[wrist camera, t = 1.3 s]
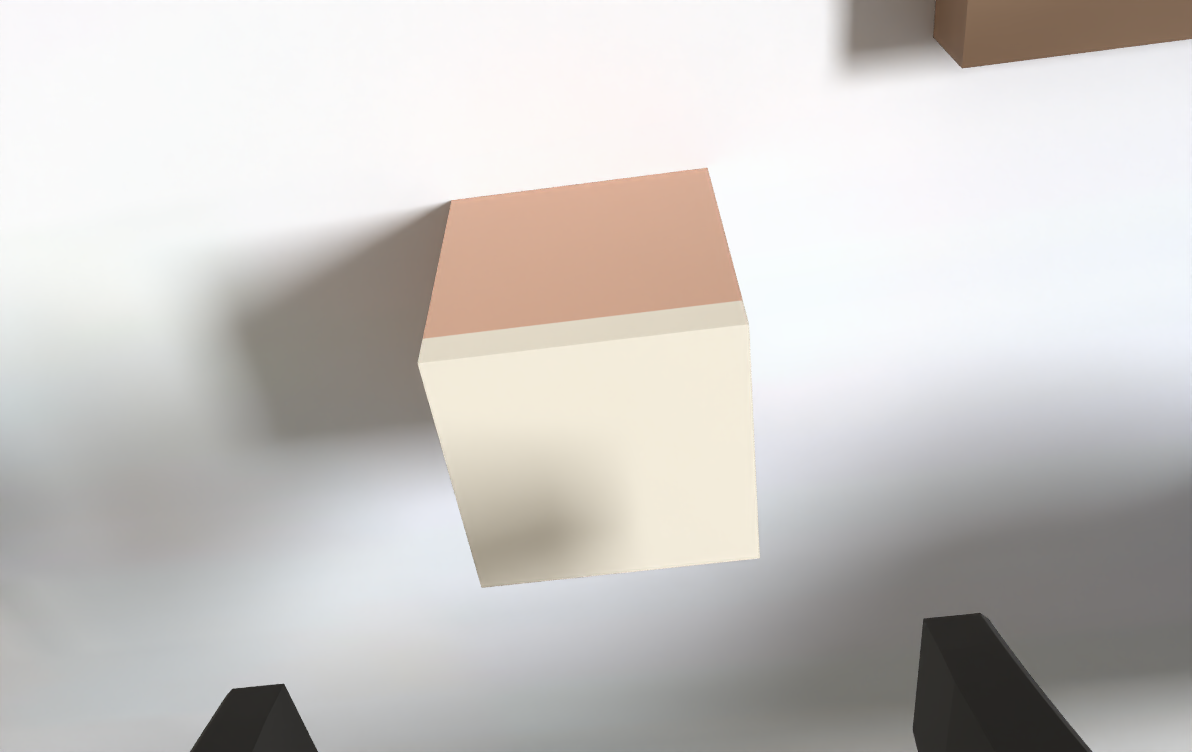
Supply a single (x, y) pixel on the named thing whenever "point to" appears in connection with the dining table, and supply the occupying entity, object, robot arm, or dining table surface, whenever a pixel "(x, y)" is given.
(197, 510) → the dining table surface
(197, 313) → the dining table surface
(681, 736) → the dining table surface
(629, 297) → the lidded terracotta box
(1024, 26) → the walnut block
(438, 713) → the dining table surface
